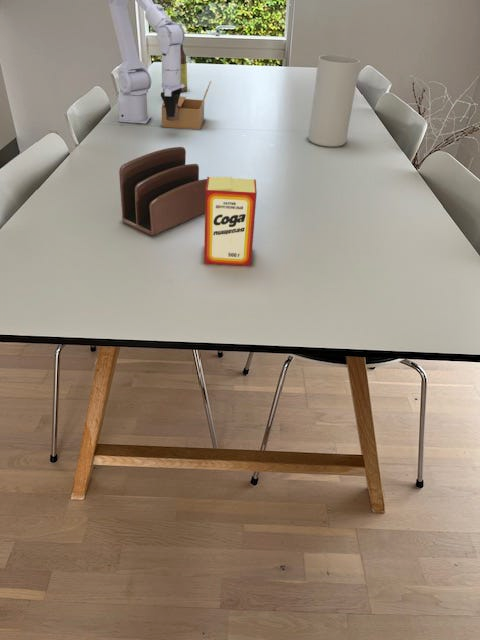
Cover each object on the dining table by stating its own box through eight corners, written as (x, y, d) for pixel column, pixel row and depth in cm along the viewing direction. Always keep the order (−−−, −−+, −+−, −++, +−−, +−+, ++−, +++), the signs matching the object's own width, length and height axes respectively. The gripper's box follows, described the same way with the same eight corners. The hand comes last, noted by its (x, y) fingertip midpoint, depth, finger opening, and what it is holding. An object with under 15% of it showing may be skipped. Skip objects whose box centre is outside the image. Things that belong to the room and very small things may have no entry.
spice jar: (164, 120, 172) (164, 104, 169) (166, 116, 175) (166, 100, 172) (177, 121, 172) (177, 105, 169) (179, 117, 175) (178, 101, 172)
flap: (204, 98, 187) (204, 98, 187) (199, 107, 177) (200, 108, 177) (210, 80, 183) (211, 81, 184) (206, 89, 173) (207, 89, 173)
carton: (204, 119, 191) (204, 98, 187) (199, 129, 181) (200, 107, 177) (168, 116, 191) (167, 95, 187) (162, 126, 181) (161, 104, 177)
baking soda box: (250, 250, 114) (256, 177, 105) (250, 265, 109) (256, 190, 99) (205, 248, 114) (207, 175, 104) (204, 263, 108) (205, 187, 99)
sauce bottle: (188, 89, 225) (188, 36, 213) (185, 93, 220) (185, 38, 208) (173, 88, 225) (172, 35, 214) (170, 91, 220) (169, 37, 209)
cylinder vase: (344, 149, 172) (359, 64, 158) (306, 144, 174) (317, 60, 159) (346, 138, 182) (360, 57, 168) (309, 133, 184) (320, 53, 169)
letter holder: (121, 222, 121) (116, 161, 113) (183, 198, 134) (183, 141, 126) (152, 237, 116) (149, 174, 108) (213, 210, 129) (215, 152, 121)
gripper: (180, 74, 159) (181, 122, 167) (187, 65, 170) (187, 109, 178) (157, 73, 159) (158, 120, 167) (165, 63, 170) (166, 107, 178)
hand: (171, 114), depth 172 cm, fingers closed on spice jar, 4 cm apart
